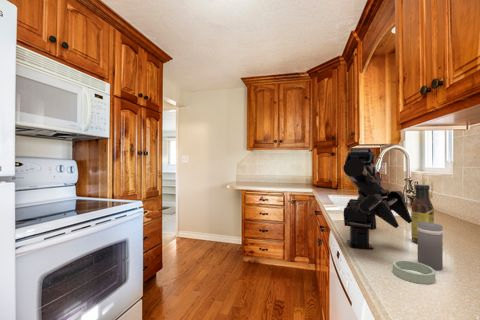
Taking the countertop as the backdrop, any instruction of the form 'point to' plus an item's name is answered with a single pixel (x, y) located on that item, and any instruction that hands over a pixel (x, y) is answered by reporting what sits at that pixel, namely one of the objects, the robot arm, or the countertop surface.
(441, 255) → the grey upright cylinder
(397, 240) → the countertop surface
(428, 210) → the sauce bottle
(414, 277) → the collar ring
